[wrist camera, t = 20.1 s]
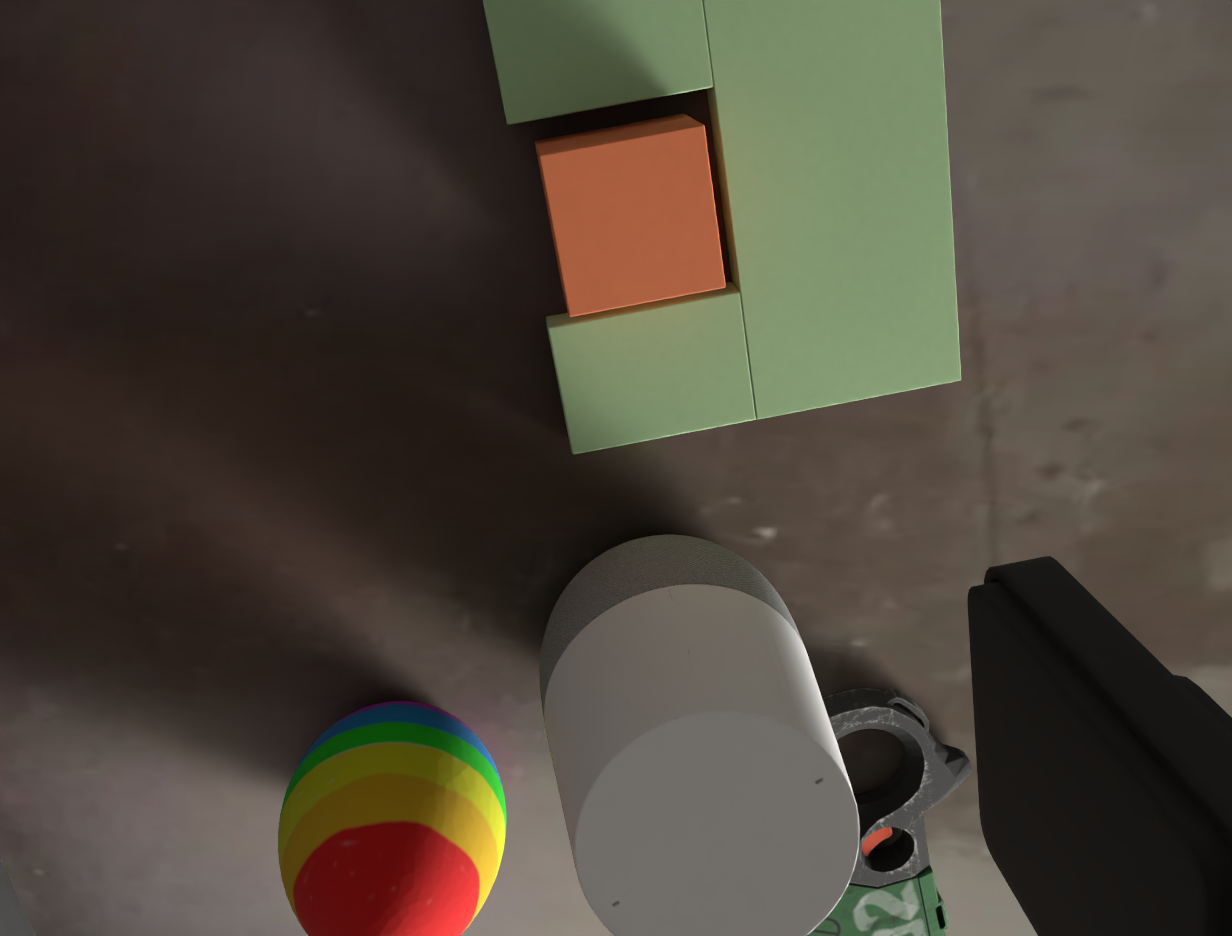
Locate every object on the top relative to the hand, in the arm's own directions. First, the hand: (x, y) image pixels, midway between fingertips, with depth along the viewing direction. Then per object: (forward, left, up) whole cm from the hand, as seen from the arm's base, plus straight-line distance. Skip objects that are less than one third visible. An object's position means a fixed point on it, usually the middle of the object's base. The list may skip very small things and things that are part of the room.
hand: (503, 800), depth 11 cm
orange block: (0, +4, -30) cm, 31 cm away
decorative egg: (+20, -8, -31) cm, 37 cm away
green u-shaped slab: (0, +8, -30) cm, 31 cm away
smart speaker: (+16, +3, -31) cm, 35 cm away
